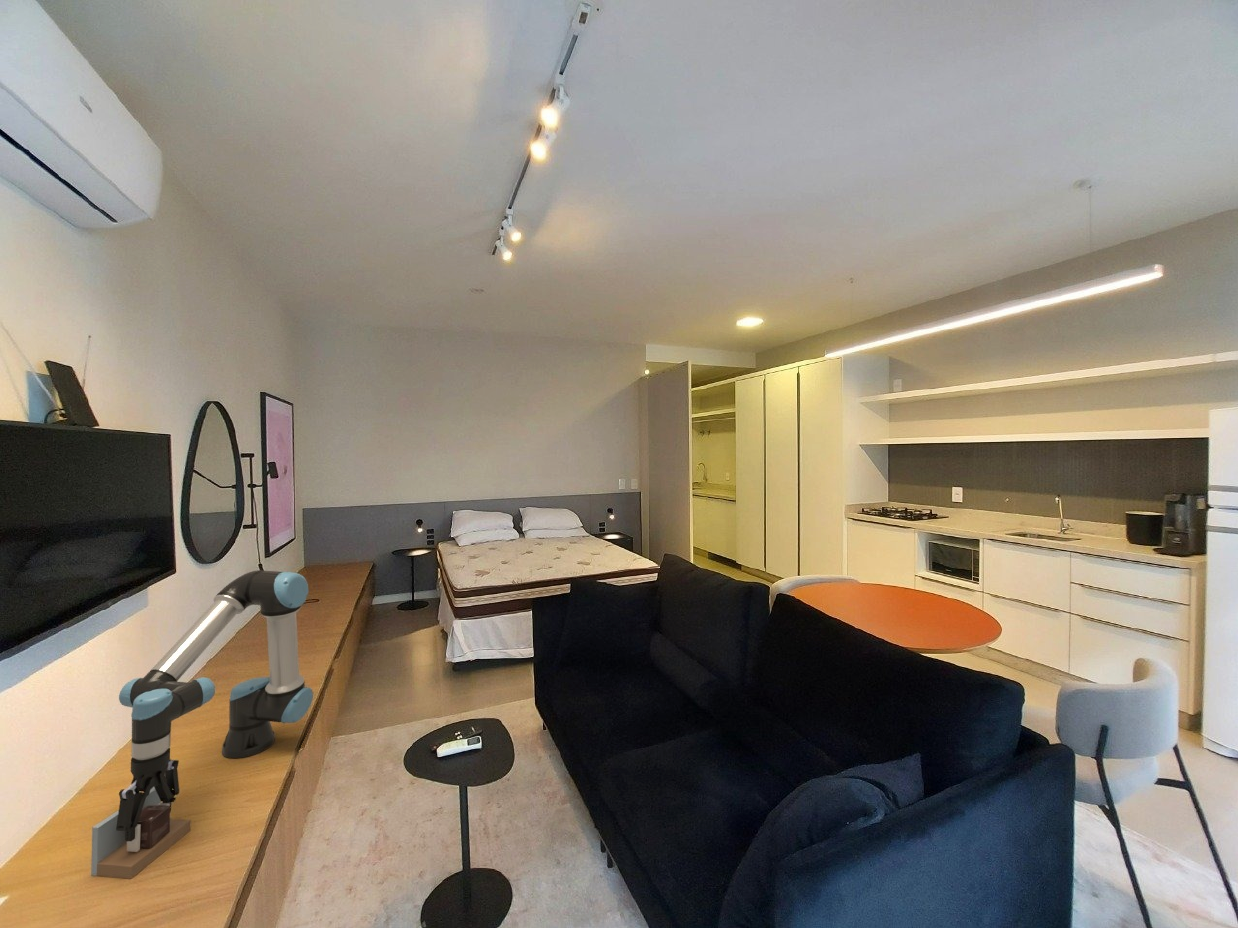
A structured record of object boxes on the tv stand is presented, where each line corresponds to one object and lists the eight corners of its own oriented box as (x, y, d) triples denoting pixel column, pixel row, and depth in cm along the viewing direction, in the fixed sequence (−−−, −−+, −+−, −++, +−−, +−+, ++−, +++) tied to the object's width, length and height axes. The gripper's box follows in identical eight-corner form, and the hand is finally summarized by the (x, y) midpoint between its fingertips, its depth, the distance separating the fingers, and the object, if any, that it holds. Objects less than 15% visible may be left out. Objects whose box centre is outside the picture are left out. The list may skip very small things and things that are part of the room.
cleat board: (154, 827, 139) (156, 785, 139) (190, 830, 138) (191, 788, 138) (91, 875, 123) (92, 827, 123) (131, 879, 122) (132, 830, 122)
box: (170, 832, 134) (171, 805, 134) (150, 850, 128) (150, 821, 128) (147, 832, 134) (148, 804, 133) (125, 849, 128) (126, 821, 127)
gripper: (173, 730, 141) (171, 810, 141) (95, 775, 121) (92, 869, 121) (198, 732, 140) (196, 813, 140) (124, 777, 120) (122, 871, 120)
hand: (148, 838), depth 131 cm, fingers open, 7 cm apart
